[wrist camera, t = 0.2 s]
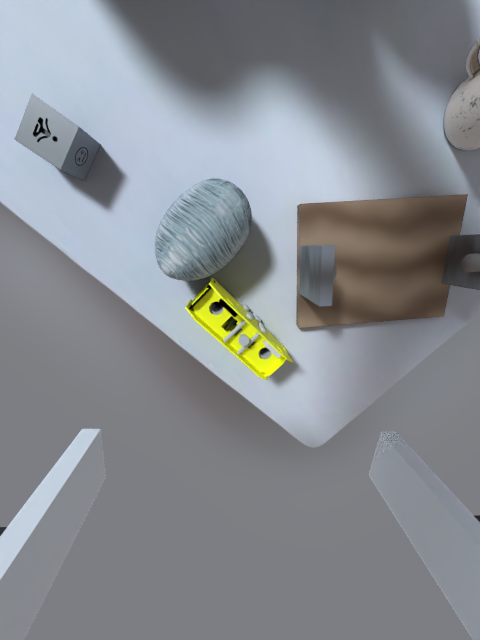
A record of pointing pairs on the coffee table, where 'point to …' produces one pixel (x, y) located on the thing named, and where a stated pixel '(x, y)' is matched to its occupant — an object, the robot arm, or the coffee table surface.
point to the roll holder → (382, 259)
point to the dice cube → (56, 139)
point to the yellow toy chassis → (237, 330)
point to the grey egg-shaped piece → (203, 230)
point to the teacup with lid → (465, 107)
